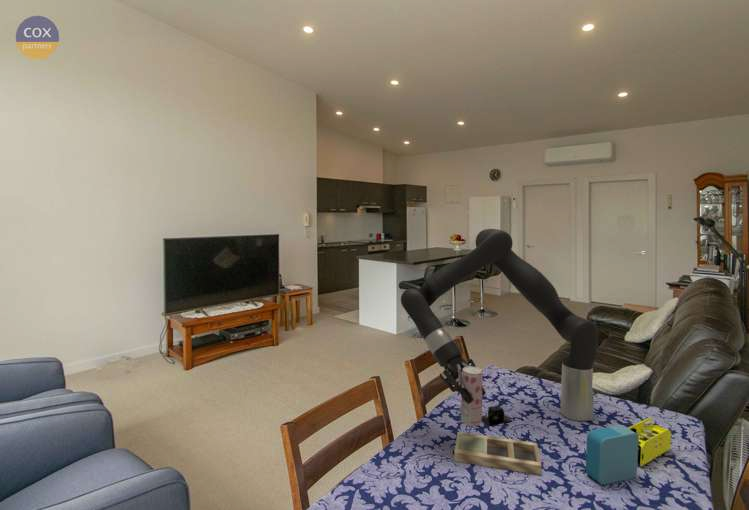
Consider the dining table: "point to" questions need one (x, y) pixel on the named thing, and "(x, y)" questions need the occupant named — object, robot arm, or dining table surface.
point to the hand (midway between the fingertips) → (477, 398)
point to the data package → (612, 454)
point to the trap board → (498, 453)
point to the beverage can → (473, 383)
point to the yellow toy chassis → (651, 440)
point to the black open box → (495, 416)
